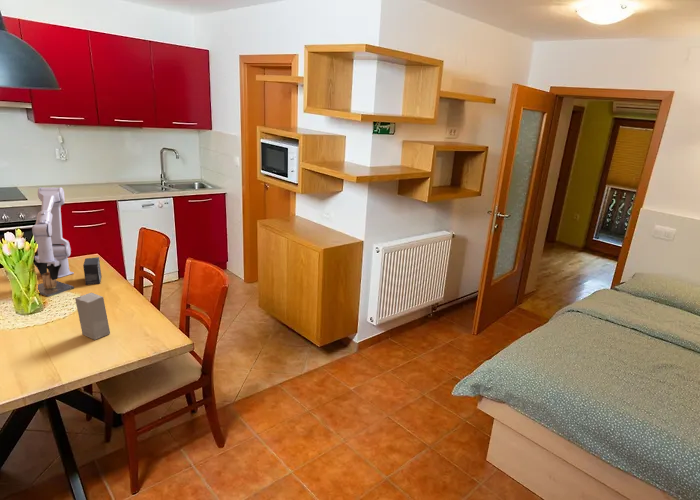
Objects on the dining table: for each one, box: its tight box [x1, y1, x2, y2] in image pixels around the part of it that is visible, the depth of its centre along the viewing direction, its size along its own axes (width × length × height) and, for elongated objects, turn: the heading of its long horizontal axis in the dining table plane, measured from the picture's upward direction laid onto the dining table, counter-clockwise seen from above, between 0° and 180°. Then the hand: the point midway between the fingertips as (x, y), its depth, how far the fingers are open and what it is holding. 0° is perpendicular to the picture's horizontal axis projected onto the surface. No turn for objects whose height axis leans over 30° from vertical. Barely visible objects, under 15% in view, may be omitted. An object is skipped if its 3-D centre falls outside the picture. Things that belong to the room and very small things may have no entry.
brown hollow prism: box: [41, 271, 57, 288], centre depth 204 cm, size 5×5×6 cm
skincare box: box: [74, 292, 111, 341], centre depth 166 cm, size 8×7×16 cm
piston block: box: [37, 280, 75, 298], centre depth 205 cm, size 15×12×5 cm
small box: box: [82, 257, 103, 286], centre depth 217 cm, size 11×6×10 cm, turn 25°
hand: (49, 277), depth 204 cm, fingers open, 7 cm apart
